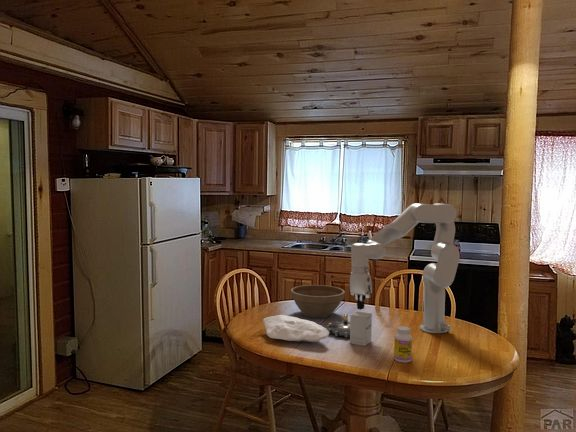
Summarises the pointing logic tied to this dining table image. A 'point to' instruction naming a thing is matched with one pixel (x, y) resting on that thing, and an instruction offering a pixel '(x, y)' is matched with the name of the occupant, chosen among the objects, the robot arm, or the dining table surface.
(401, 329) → the supplement bottle
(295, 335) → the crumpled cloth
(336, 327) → the sprocket disc
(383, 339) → the dining table surface
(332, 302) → the flower pot
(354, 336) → the supplement box
